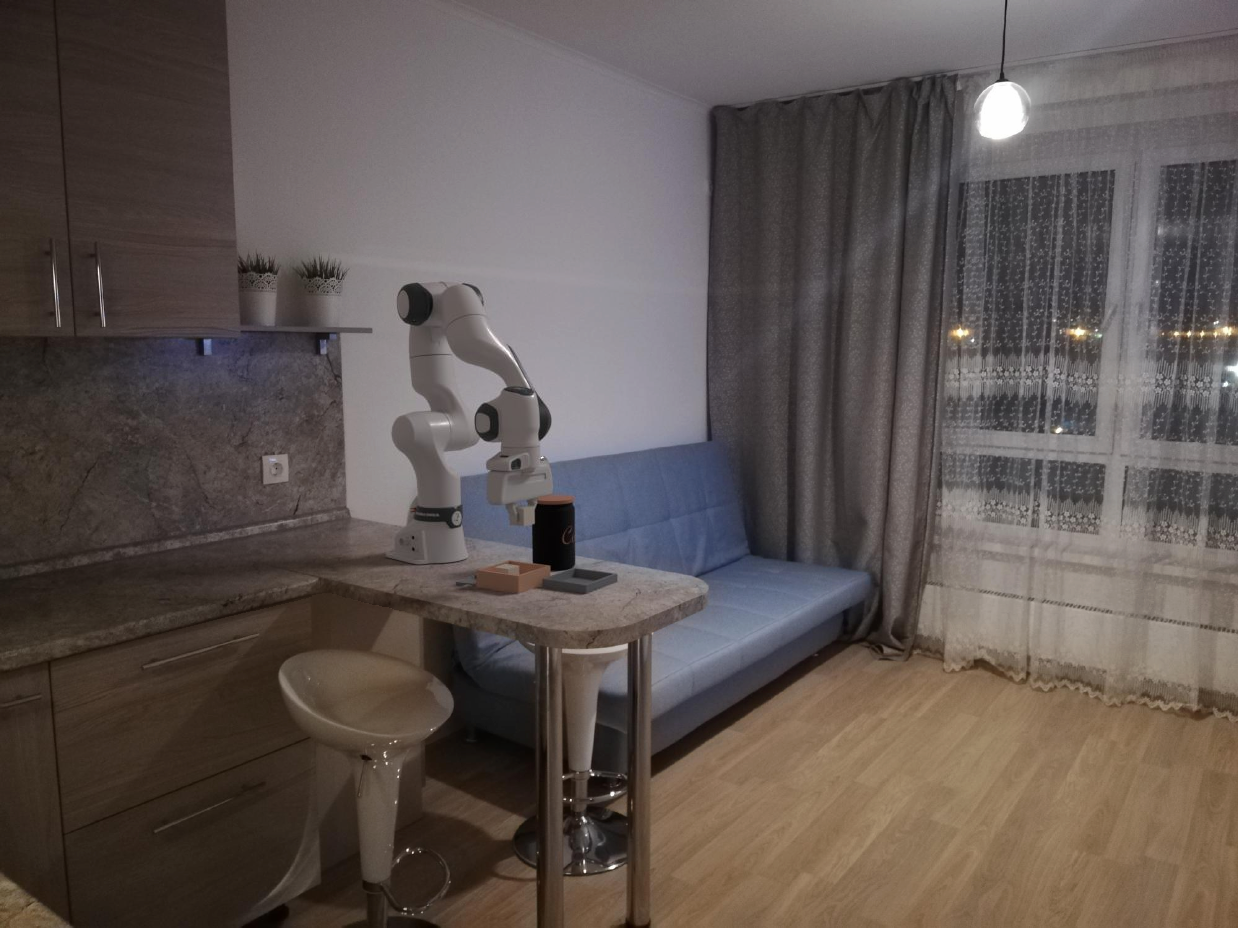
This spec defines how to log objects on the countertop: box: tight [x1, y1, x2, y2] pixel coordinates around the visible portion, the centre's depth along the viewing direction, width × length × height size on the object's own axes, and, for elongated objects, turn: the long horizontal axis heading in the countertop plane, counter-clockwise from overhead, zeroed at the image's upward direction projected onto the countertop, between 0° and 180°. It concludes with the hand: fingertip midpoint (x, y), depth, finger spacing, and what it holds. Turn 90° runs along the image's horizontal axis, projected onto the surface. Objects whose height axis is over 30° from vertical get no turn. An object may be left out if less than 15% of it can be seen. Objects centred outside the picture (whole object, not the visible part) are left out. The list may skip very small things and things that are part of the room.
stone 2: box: [509, 504, 535, 527], centre depth 208 cm, size 4×4×4 cm
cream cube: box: [495, 564, 519, 575], centre depth 212 cm, size 4×4×4 cm
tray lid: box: [455, 573, 477, 587], centre depth 216 cm, size 7×10×2 cm
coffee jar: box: [531, 494, 576, 572], centre depth 229 cm, size 11×11×18 cm
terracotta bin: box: [475, 559, 551, 595], centre depth 211 cm, size 12×12×4 cm
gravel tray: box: [541, 567, 618, 595], centre depth 211 cm, size 12×13×2 cm
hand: (521, 520), depth 208 cm, fingers closed on stone 2, 4 cm apart
